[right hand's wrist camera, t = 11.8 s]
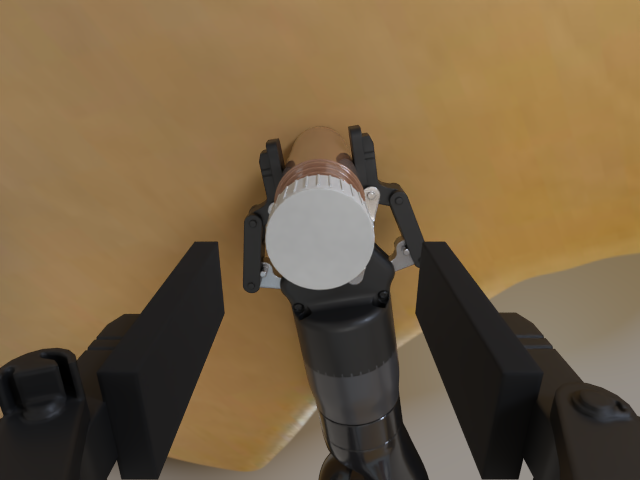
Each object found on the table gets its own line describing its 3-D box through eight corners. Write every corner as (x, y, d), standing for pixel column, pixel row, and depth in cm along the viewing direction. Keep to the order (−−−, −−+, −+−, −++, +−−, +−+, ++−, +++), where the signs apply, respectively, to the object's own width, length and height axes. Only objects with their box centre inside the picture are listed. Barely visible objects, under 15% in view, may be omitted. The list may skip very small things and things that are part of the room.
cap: (373, 260, 20) (380, 284, 18) (279, 272, 20) (274, 297, 18) (364, 166, 18) (370, 179, 16) (261, 181, 19) (253, 195, 16)
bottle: (351, 180, 35) (382, 281, 18) (296, 187, 36) (273, 295, 18) (345, 122, 34) (371, 174, 16) (286, 131, 34) (252, 190, 17)
